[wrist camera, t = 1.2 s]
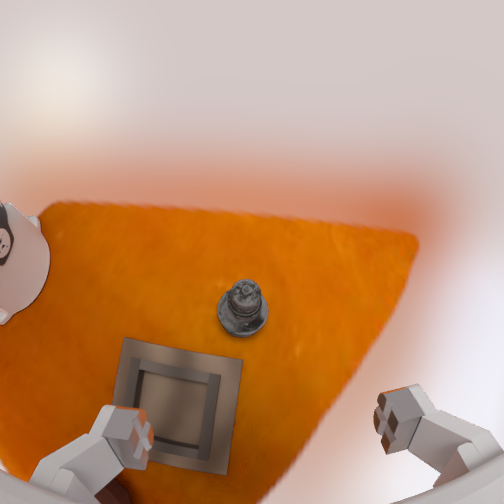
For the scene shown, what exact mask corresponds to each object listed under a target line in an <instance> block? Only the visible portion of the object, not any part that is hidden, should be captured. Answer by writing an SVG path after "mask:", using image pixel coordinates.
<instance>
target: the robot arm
mask: <svg viewBox="0 0 504 504" xmlns="http://www.w3.org/2000/svg"><path fill="white" fill-rule="evenodd" d="M49 264H50V252H49V247H48V244H47V241H46V240H45V238H44V236H43V235H42V233H41V225H40V220H39V219H38V218H37V217H36V216H28V217H26V216H25V215H24V214H23V213H22V212H21V211H20V210H18V209H17V208H16V207H15V206H14V205H13V204H12V203H8V204H2V203H1V202H0V324H1V325H4V324H5V323H6V322H7V321H8V320H9V319H10V318H11V317H12V315H13V314H15V313H16V312H18V311H20V310H22V309H24V308H26V307H27V306H28V305H30V304H31V303H32V302H33V301H34V299H35V298H36V297H37V296H38V294H39V293H40V291H41V289H42V287H43V285H44V283H45V281H46V278H47V275H48V271H49ZM377 402H378V404H379V406H378V407H377V408H376V409H375V411H374V426H375V429H376V432H377V433H378V434H380V435H382V439H381V443H382V446H383V448H384V450H385V453H386V454H391V453H395V452H399V451H402V450H405V449H408V451H409V452H411V453H412V454H414V455H415V456H417V457H418V458H419V459H421V460H422V461H424V462H425V463H427V464H428V465H430V466H431V467H432V468H434V469H435V470H437V471H438V472H440V473H441V474H440V476H439V477H438V479H437V480H436V482H435V483H434V485H433V487H434V488H433V489H431V490H428V491H426V492H423V493H420V494H418V495H415V496H413V497H409V498H406V499H403V500H401V501H397V502H394V503H391V504H504V451H503V449H502V448H501V447H500V445H499V444H498V442H497V441H496V440H495V438H494V437H493V435H492V434H491V433H490V431H489V430H486V429H484V428H481V427H479V426H476V425H474V424H472V423H469V422H467V421H465V420H462V419H460V418H458V417H456V416H453V415H451V414H449V413H446V412H444V411H442V410H440V411H437V409H436V408H435V406H434V405H433V403H432V402H431V400H430V399H429V397H428V396H427V395H426V393H425V392H424V391H423V389H422V387H421V386H420V385H419V384H415V385H411V386H407V387H403V388H399V389H395V390H391V391H387V392H383V393H380V394H379V396H378V399H377ZM146 419H147V414H146V412H145V410H144V409H138V408H130V407H122V406H113V405H104V406H103V407H102V409H101V411H100V413H99V415H98V416H97V418H96V420H95V422H94V424H93V426H92V428H91V430H90V432H89V434H84V435H82V436H80V437H79V438H77V439H75V440H74V441H72V442H70V443H69V444H67V445H65V446H64V447H62V448H60V449H59V450H57V451H55V452H53V453H52V454H50V455H48V456H46V457H45V458H43V459H41V460H40V462H39V464H38V466H37V467H36V469H35V471H34V473H33V475H32V477H31V479H30V480H29V482H28V483H27V482H25V481H23V480H21V479H19V478H17V477H15V476H13V475H11V474H9V473H7V472H5V471H3V470H1V469H0V504H101V503H100V502H99V501H98V500H97V499H96V498H95V497H94V495H95V494H96V493H97V492H99V491H100V490H101V489H102V488H103V487H104V486H105V485H106V484H108V483H109V482H110V481H111V480H112V479H113V478H114V477H115V476H117V475H118V474H119V473H120V472H121V471H122V470H123V469H124V468H131V469H138V470H146V466H147V463H148V459H149V455H148V453H147V451H148V450H149V449H151V448H152V445H153V440H154V433H153V429H152V426H151V424H150V423H148V422H147V421H146ZM123 467H124V468H123Z"/></svg>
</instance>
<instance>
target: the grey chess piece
mask: <svg viewBox="0 0 504 504" xmlns="http://www.w3.org/2000/svg"><path fill="white" fill-rule="evenodd" d="M218 317H219V319H220V322H221V323H222V325H223V327H224V328H225V330H226V331H227V332H228V333H230V334H231V335H233V336H236V337H248V336H251V335H253V334H254V333H256V332H257V331H258V330H259V329H261V328H262V326H263V325H264V324H265V322H266V320H267V317H268V305H267V302H266V300H265V298H264V297H263V296H262V294H261V290H260V288H259V286H258V285H257V283H255V282H254V281H252V280H249V279H242V280H239V281H238V282H236V283H235V284H234V285H233V287H232V289H230V290H229V291H227V292H226V293H225V294H224V295H223V296H222V297H221V299H220V301H219V304H218Z"/></svg>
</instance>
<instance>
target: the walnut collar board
mask: <svg viewBox="0 0 504 504" xmlns="http://www.w3.org/2000/svg"><path fill="white" fill-rule="evenodd" d="M242 362H243V360H241V359H234V358H227V357H221V356H214V355H208V354H203V353H197V352H191V351H186V350H181V349H176V348H171V347H166V346H161V345H156V344H152V343H147V342H143V341H139V340H134V339H130V338H126V337H124V341H123V346H122V351H121V356H120V361H119V366H118V372H117V377H116V383H115V389H114V395H113V402H112V405H113V406H122V407H130V408H138V409H144V410H145V412H146V414H147V419H146V421H147V422H148V423H150V424H151V426H152V429H153V433H154V440H153V445H152V448H151V449H149V450H148V451H147V453H148V455H149V459H148V460H149V461H153V462H157V463H161V464H165V465H170V466H174V467H179V468H184V469H189V470H194V471H200V472H206V473H212V474H219V475H227V468H228V461H229V454H230V447H231V440H232V433H233V426H234V419H235V412H236V405H237V398H238V391H239V384H240V377H241V370H242Z"/></svg>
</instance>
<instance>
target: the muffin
mask: <svg viewBox="0 0 504 504" xmlns="http://www.w3.org/2000/svg"><path fill="white" fill-rule="evenodd" d="M94 497H95V498H96V499H97V500H98V501H99V502H100V503H101V504H132V503H131V501H130V497H129V492H128V490H127V489H125V488H124V487H123V486H122V485H121V484H119V482H118V481H117V480H116V479H115V478H113V479H112V480H111V481H110V482H109V483H108V484H106V485H105V486H104V487H103V488H102V489H101V490H100V491H99V492H97V493H96V494H95V495H94Z"/></svg>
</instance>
